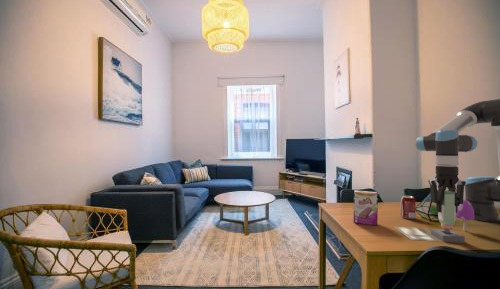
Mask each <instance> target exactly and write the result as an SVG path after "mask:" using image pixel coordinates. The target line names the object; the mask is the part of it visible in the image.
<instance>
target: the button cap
mask: <svg viewBox="0 0 500 289" xmlns="http://www.w3.org/2000/svg"><path fill="white" fill-rule="evenodd" d="M440 228H442V229H444V233H445V234H450V230H454V225H445V224H443V223H440Z"/></svg>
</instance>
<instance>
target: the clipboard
mask: <svg viewBox="0 0 500 289" xmlns="http://www.w3.org/2000/svg"><path fill="white" fill-rule="evenodd" d="M392 228H393V229H394V230H396V231H398V232H399V233H400V234H402V235H403V236H404V237H406V238H407V239H408V240H410V241H422V242H424V241H425V242H441V243H442V242H443V241H441V240H440V239H438V238H436V237H434V236H433V235H431V229H432V228H427V227H406V226H405V227H403V226H392ZM443 243H444V242H443ZM456 243H458V242H455V244H456ZM458 244H459V243H458Z"/></svg>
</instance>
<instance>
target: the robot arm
mask: <svg viewBox="0 0 500 289" xmlns="http://www.w3.org/2000/svg"><path fill="white" fill-rule="evenodd" d="M487 123H488V124H490V127H491V128H493V129H495V135H496V136H495V137H496V146H497V156H498V167H499V168H498V169H499V171H500V98H497V99H488V100H484V101H479V102H478V101H477V102H475V103H473V104H471V105H468V106H467V107H465V108H462V109H461V110H460V111H458V112H457V113H456V114H455V115H454V117H453V118H452V119H450V120H449V121H447V122H446V123H444V124H443V125H442V126H440V127H438V128H437V129H435V130H434V131H433V132H431V133H430V134H428V135H422V136H418V137H417V138H416V139H415V147H416V149H417V150H418V151H421V152H422V151H423V152H435V165H436V166H435V177H434V178H433V179H429V180H428V184H429V186H430V189H429V190H430V201H431V202H432V203H434V204H435V205H436V207H435V209H436V210H435V211H436V212H437V214H438V215H437V216H438V217H437V218H438V220H439V219H440V220H442V221H444V205H442V203H443V198H444V191H445V190H449V191H452V192H455V222H456V220H457V219H456V218H457V217H456V213H457V206H459V205H460V204H463V200H467V201H469V202H470V204H471V205H472V207H473V210H474V220H475V221H482V222H487V223H488V222H490V223H495V222H500V215H499V214H498V210H497V209H496V206H495V202H496V203H500V174H499V175H498V176H496V177H494V176H469V177H466V178H465V180H461V179H459V176H458V175H459V167H458V165H459V153H468V152H469V153H470V152H472V151H474V150H476V148H477V146H478V141H477V139H476V138H475V137H474V136H472V135H468V134H460V133H461V132H463V131H464V130H465V129H467V128H469V127H473V126H475V125H477V124H478V125H479V124H487ZM464 194H465V196H464Z"/></svg>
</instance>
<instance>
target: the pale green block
mask: <svg viewBox="0 0 500 289" xmlns="http://www.w3.org/2000/svg"><path fill="white" fill-rule="evenodd" d="M442 205H444V221H442V220H440V219H438V220H439V222H438V223H440V224H441V223H443V224H445V225H453V226H455V222H456V221H455V192H452V191H449V190H448V189H446V190H445V191H444V198H443V203H442Z"/></svg>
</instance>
